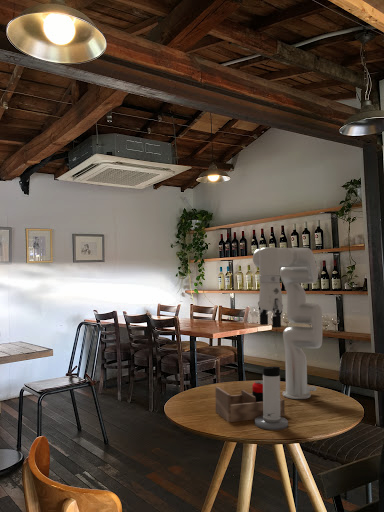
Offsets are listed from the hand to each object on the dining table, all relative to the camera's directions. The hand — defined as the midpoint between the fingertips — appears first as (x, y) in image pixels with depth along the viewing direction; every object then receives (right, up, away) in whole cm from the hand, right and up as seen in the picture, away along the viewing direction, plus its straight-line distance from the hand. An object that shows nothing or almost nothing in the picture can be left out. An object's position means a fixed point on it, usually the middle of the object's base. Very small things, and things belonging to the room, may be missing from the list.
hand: (270, 326), depth 161 cm
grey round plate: (0, -36, -2) cm, 36 cm away
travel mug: (0, -35, -2) cm, 35 cm away
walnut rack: (-6, -37, +11) cm, 39 cm away
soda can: (-1, -37, +12) cm, 39 cm away
